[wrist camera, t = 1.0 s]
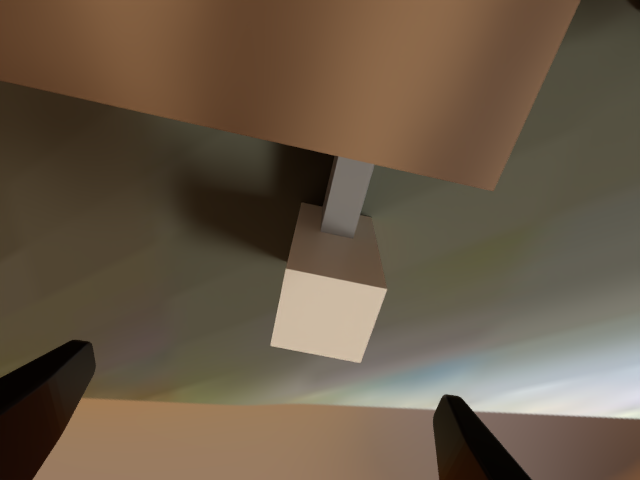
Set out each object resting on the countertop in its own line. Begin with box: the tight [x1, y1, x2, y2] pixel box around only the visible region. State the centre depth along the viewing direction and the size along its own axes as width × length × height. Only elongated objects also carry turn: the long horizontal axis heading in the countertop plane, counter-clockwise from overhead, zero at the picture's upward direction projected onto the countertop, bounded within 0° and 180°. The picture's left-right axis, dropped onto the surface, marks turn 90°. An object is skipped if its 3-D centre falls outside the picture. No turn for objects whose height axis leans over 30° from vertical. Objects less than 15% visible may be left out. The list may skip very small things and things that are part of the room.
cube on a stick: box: [270, 156, 387, 363], centre depth 15 cm, size 4×16×7 cm, turn 168°
